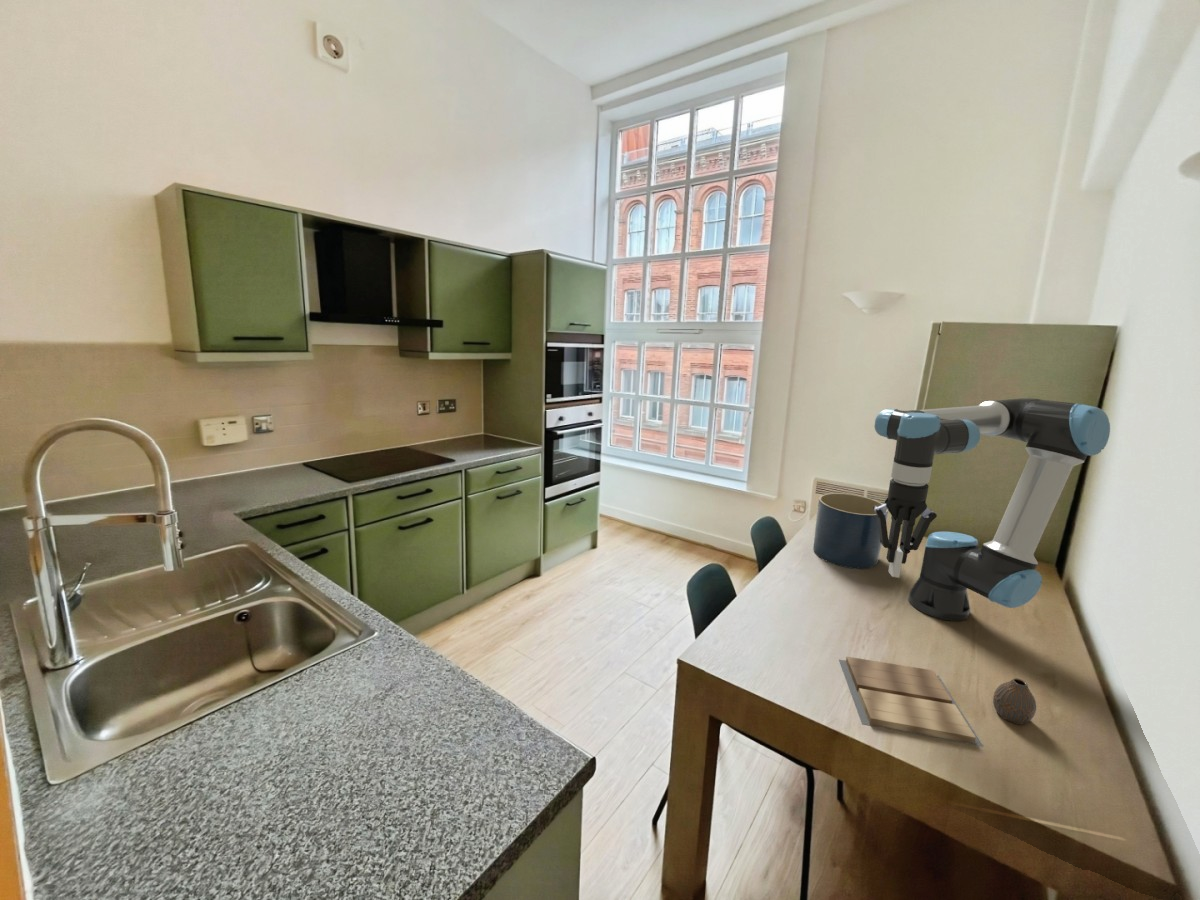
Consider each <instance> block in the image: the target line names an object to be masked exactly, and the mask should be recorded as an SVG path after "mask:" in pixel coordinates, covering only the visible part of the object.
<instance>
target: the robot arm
mask: <svg viewBox="0 0 1200 900" xmlns="http://www.w3.org/2000/svg"><path fill="white" fill-rule="evenodd" d="M1110 424H1111V423H1110V420H1109V417H1108V415H1107V413H1106V412H1105V411H1104V410H1103V409H1101V408H1099V407H1097V406H1093V405H1089V404H1088V405H1087V404H1083V403H1079V402H1078V403H1074V402H1067V401H1066V402H1065V401H1058V400H1057V401H1056V400H1049V399H1048V400H1046V399H1040V398H1032V397H1027V398H1026V397H1024V398H1009V399H999V400H988V401H983V402H982V403H979V404H978V405H968V406H958V407H957V406H955V407H941V408H929V409H915V410H912V409H911V410H900V409H898V408H885V409H883V410H881V411H880V412H879V413H878V414H877V415H876V417H875V420H874V430H875V432H876V434H878V436H881V437H883V438H886V439H888V440H893V441H895V442H896V443H895V451H894V457H893V463H892V468H891V475H890V477H891V479H890V480H889V484H888V485H889V487H888V492H887V498H886V499H885V500H884V503H882V504H883V505H881V506H879V507H878V506H874V507H873V510H874V511H875V513H876V515H877V521H878V529H879V537H880V543H881V544H882V545H881V546H883V548H885V549H886V548H887V553H886V560H887V562H888V563H889V565H888V573H889V574H890V576H891V577H892V578H900V576H901V575H900V574H901V569H902V565H903V564H907V560H908V559H907V558H908V554H911V551H912V550H913V551H917V550H918V549H919V547H920V546H921V543H922V541H923V539H924V537H925V535H926V533H927V532H928V529H929V527H930V524H931V523H932V522H933V521H934V520H935V519H936V518H937V516H938V514H937V513H935V512H934V510H932V509H929V508H928V504H927V501H926V500H927V497H928V493H929V488H930V487H929V483H930V481H931V475H932V470H933V463H934V458H935V455H944V454H960V453H963V452H968V451H971V450H973V449H974V448H976V447H977V446H978V445H979V443H980V441H981V435H983V436H986V437H1002V438H1006V439H1007V438H1008V439H1012V440H1016V441H1020V442H1024V443H1026V445H1025V448H1024V450H1026V452H1027V454H1028V455H1029V457H1028V458H1027V461H1026V464H1025V466H1024V468H1023V470H1022V473H1021V475H1020V478H1019V480H1018V482H1017V484H1016V486H1015V488H1014V491H1013V493H1012V495H1011V498H1010V500H1009V502H1008V505H1007V507H1006V509H1005V511H1004V514H1003V516H1002V518H1001V521H1000V522H999V525H998V527H997V530H996V533H994V537H993V539H992V540H989V541H987V542H983V544H982V546H981V547H979V540H978V539H977V538H976V537H974V536H972V535H969V534H965V533H961V532H953V531H934V532H932V533H930V534H929V535H928V536H927V540H926V543H925V545H924V547H925V548H924V554H923V557H922V563H921V568H920V574H919V576H918V579H917V580H916V581H915V583H914V584H913V586H912V587H911V588H910V590H909V591H908V596H907V597H908V598H907V600H908V602H909V603H910V605H912V606H913V608H915V609H917V610H918V611H920V612H922V613H924V614H926V615H928V616H930V617H934V618H937V619H940V620H944V621H945V620H946V621H950V622H951V621H953V622H954V621H956V622H960V621H965V620H967V619H968V618H969V616H970V611H971V606H970V600H969V593H968V590H969V591H972V592H974V593H976V594H978V595H980V596H982V597H984V598H986V599H987V600H989V601H990V602H992V603H996V604H997V605H1000V606H1003V607H1006V608H1008V609H1016V608H1020V607H1022V606H1024V605H1026V604H1028V603H1029V602H1031V600H1033V599H1034V597H1035V596H1036V594H1038V592H1039V591H1040V589H1041V587H1042V584H1043V582H1042V580H1043V576H1042V574H1041V573H1040V572H1039V571H1038V570H1036V568H1037V566H1038V564H1039V561H1037V559H1036V558H1035V552H1036V550H1037V547H1038V546H1039V543H1040V541H1041V539H1042V536H1043V534H1044V532H1045V530H1046V527H1047V525H1048V523H1049V521H1050V519H1051V517H1052V515H1053V512H1054V510H1055V508H1056V505H1057V503H1058V501H1059V499H1060V497H1061V494H1062V493H1063V490H1064V488H1065V485H1066V483H1067V481H1068V479H1069V477H1070V475H1071V472H1072V470H1073V468H1074V467H1076V466H1078V465H1081V464H1083V463H1085V461H1086V459H1087V458H1088V456H1096V455H1098V454H1100V453H1101V452H1102V450H1104V449H1105V447H1106V446H1107V444H1108V441H1109V438H1110V435H1111V433H1110V432H1111V425H1110ZM887 509H888V513H889V514H890V515H891V518H890V519H891V523H890V529H889V532H888V526H887V522H886V518H885V515H886V510H887ZM920 515H921V516H920ZM919 516H920V518H919V520H918V522H917V524H916V520H917V518H918V517H919ZM915 524H916V526H915ZM914 526H915V528H914ZM901 529H902V530H901ZM913 530H914V531H913ZM888 533H889V535H888ZM900 534H901V535H900ZM899 539H900V541H899ZM898 545H899V547H898Z"/></svg>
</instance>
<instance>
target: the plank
mask: <svg viewBox="0 0 1200 900" xmlns="http://www.w3.org/2000/svg"><path fill="white" fill-rule="evenodd" d="M858 695H859V698H860V700H861V703H862V706H863V708H864V711H865V714H866V716H867V719H868V721H869V724H871V725H876V726H882V727H887V728H892V729H898V730H903V731H909V732H914V733H919V734H925V735H930V736H936V737H941V738H946V739H952V740H957V741H963V742H968V743H973V744H974V743H975V739H976V737H975V735H974V734H973V732H972V730H971V729H970V727H969V726H968V724H967V723H966V721H965V719H964V718H963V716H962V715H961V713H960V712H959V710H958V708H957V707H956V705H955V704H949V703H943V702H937V701H931V700H925V699H920V698H914V697H908V696H902V695H896V694H890V693H885V692H879V691H873V690H867V689H861V688H859V691H858Z"/></svg>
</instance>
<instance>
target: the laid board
mask: <svg viewBox="0 0 1200 900" xmlns="http://www.w3.org/2000/svg"><path fill="white" fill-rule="evenodd" d="M845 661H846V664H847V666H848V669H849V672H850V674H851V677H852V680H853V682H854V685H855V687H856V690H859V688H861V689H867V690H873V691H879V692H885V693H890V694H896V695H902V696H908V697H914V698H920V699H925V700H931V701H937V702H943V703H949V704H952V701H953V700H952V699H951V697H950V696H949V694H948V693H947V691H946V689H945V688H944V686H943V685H942V683H941V681H940V680H939V678H938V677H937V673H936V671H935V670H934V669H928V668H921V667H915V666H909V665H908V666H907V665H902V664H897V663H889V662H883V661H878V660H871V659H865V658H859V657H851V656H846V658H845Z"/></svg>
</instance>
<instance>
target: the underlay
mask: <svg viewBox="0 0 1200 900" xmlns="http://www.w3.org/2000/svg"><path fill="white" fill-rule="evenodd" d="M838 662H839V665H840V667H841V669H842V672H843V675H844V678H845V681H846V684H847V687H848V690H849V692H850V695H851V698H852V700H853V703H854V706H855V709H856V711H857V714H858V717H859V719H860V722H861V725H865V726H871V727H875V728H880V729H885V730H892V731H896V732H902V733H907V734H913V735H918V736H922V737H928V738H934V739H940V740H944V741H951V742H956V743H962V744H966V745H971V746H976V747H982V748H983V747H984V745H983V743H982V741H981V740H980V738H979V736H978V735H977V734H976V732H975V731H974V729H973V728H972V726H971V725H970V723H969V721H968V720H967V718H966V717H965V715H964V713H963V711H962V710H961V708H960V706H959V705H958V704H957V702H956V701H955V699H954V698H953V696H952V695H951V693H950V692H949V690H948V688H947V687H946V685H945V683H944V682H943V680H942V678H941V677H940V676H939V675H937V674H936V675H937V677H938V678H939V680H940V681H941V683H942V685H943V686H944V688H945V689H946V691H947V693H948V694H949V696H950V697H951V699H952V700H953V701H952V704H955V705H956V707H957V708H958V710H959V712H960V713H961V715H962V716H963V718H964V719H965V721H966V723H967V724H968V726H969V727H970V729H971V730H972V732H973V734H974V735H975V737H976V739H975V743H974V744H973V743H968V742H963V741H957V740H952V739H946V738H941V737H936V736H930V735H925V734H919V733H914V732H909V731H903V730H898V729H892V728H887V727H882V726H876V725H871V724H869V721H868V719H867V716H866V714H865V711H864V708H863V706H862V703H861V700H860V698H859V695H858V691H859V690H856V687H855V685H854V682H853V680H852V677H851V674H850V672H849V669H848V666H847V664H846V659H845V660H843V659H838Z"/></svg>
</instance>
